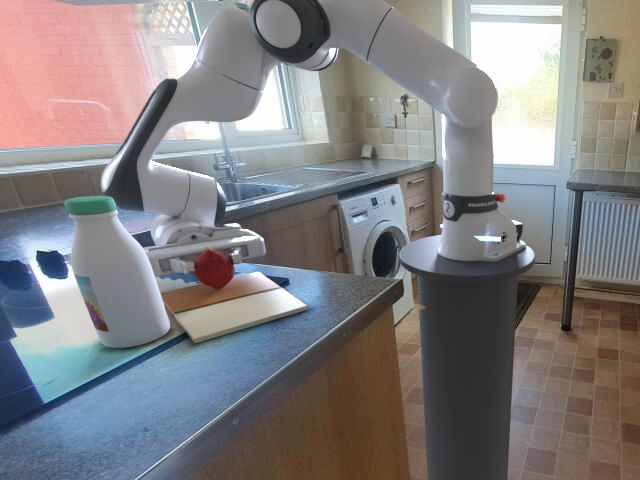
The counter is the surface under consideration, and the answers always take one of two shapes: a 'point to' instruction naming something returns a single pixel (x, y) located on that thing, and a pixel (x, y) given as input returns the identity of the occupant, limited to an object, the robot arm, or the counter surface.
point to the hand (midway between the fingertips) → (214, 264)
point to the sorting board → (230, 306)
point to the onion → (214, 269)
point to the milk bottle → (114, 276)
